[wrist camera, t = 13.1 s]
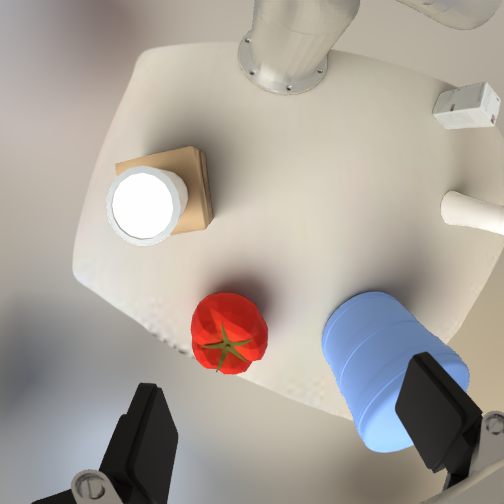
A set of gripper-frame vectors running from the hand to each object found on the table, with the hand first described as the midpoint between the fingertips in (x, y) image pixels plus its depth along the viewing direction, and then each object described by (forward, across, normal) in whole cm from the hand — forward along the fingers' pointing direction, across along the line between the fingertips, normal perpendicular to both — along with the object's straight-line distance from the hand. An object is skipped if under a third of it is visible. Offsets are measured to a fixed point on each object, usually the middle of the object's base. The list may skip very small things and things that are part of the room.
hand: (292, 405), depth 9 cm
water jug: (+31, -18, +18) cm, 40 cm away
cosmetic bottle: (+31, -35, -3) cm, 47 cm away
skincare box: (+31, -34, -20) cm, 50 cm away
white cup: (+22, +10, -7) cm, 25 cm away
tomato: (+31, +4, +13) cm, 34 cm away
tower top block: (+27, +10, -7) cm, 29 cm away
